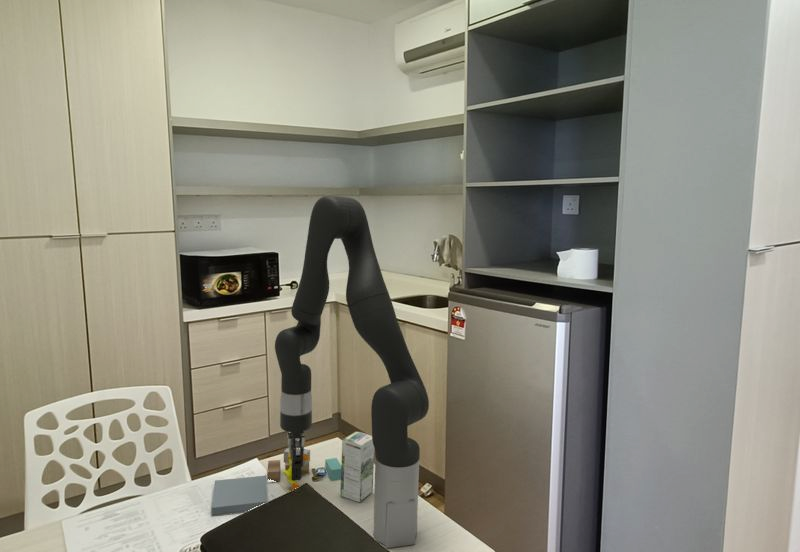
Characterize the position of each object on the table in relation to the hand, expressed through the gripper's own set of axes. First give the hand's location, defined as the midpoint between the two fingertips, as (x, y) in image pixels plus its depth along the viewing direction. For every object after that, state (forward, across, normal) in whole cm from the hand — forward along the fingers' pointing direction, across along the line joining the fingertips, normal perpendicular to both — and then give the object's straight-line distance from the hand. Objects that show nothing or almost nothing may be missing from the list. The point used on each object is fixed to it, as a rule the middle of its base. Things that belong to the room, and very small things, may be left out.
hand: (295, 474), depth 131 cm
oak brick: (+4, +8, -1) cm, 9 cm away
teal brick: (+4, +5, -10) cm, 12 cm away
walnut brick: (+4, +7, +5) cm, 9 cm away
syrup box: (+3, -6, -14) cm, 16 cm away
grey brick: (+1, +8, -1) cm, 8 cm away
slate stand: (+3, -2, +13) cm, 14 cm away
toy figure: (+4, 0, 0) cm, 4 cm away
